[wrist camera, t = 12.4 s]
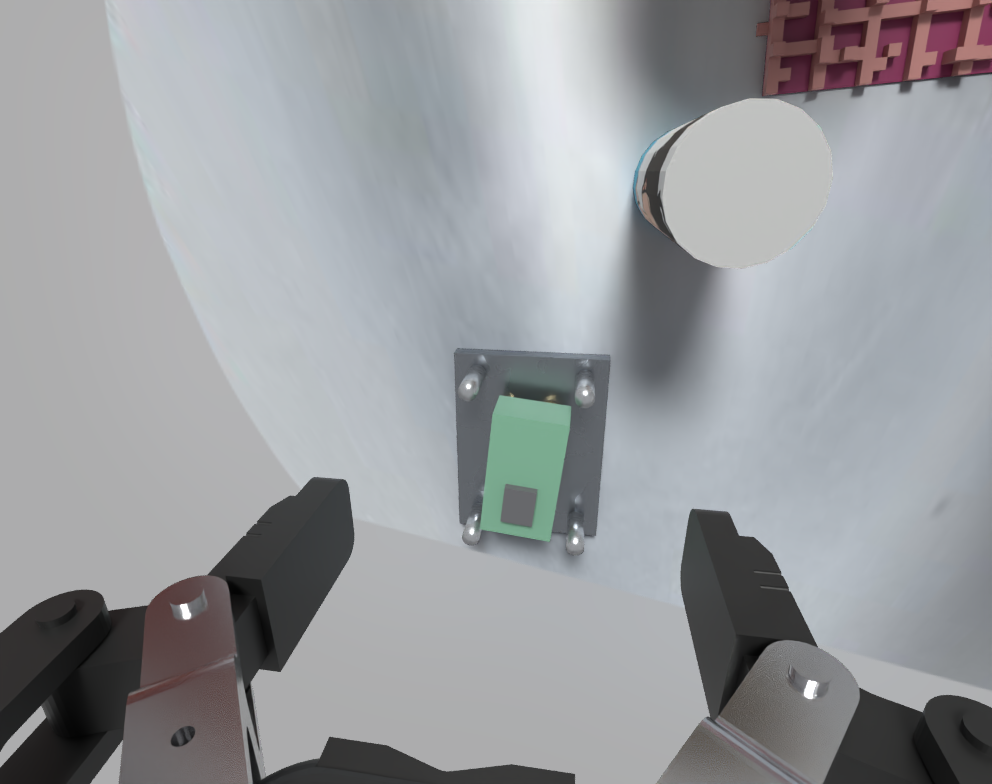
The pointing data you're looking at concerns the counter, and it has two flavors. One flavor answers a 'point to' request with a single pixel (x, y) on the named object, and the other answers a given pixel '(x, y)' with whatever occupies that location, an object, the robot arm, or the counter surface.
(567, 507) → the chassis
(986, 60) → the chocolate bar
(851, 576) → the counter surface
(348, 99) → the counter surface
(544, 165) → the counter surface
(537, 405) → the green block
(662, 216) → the printed cylinder
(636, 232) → the counter surface
